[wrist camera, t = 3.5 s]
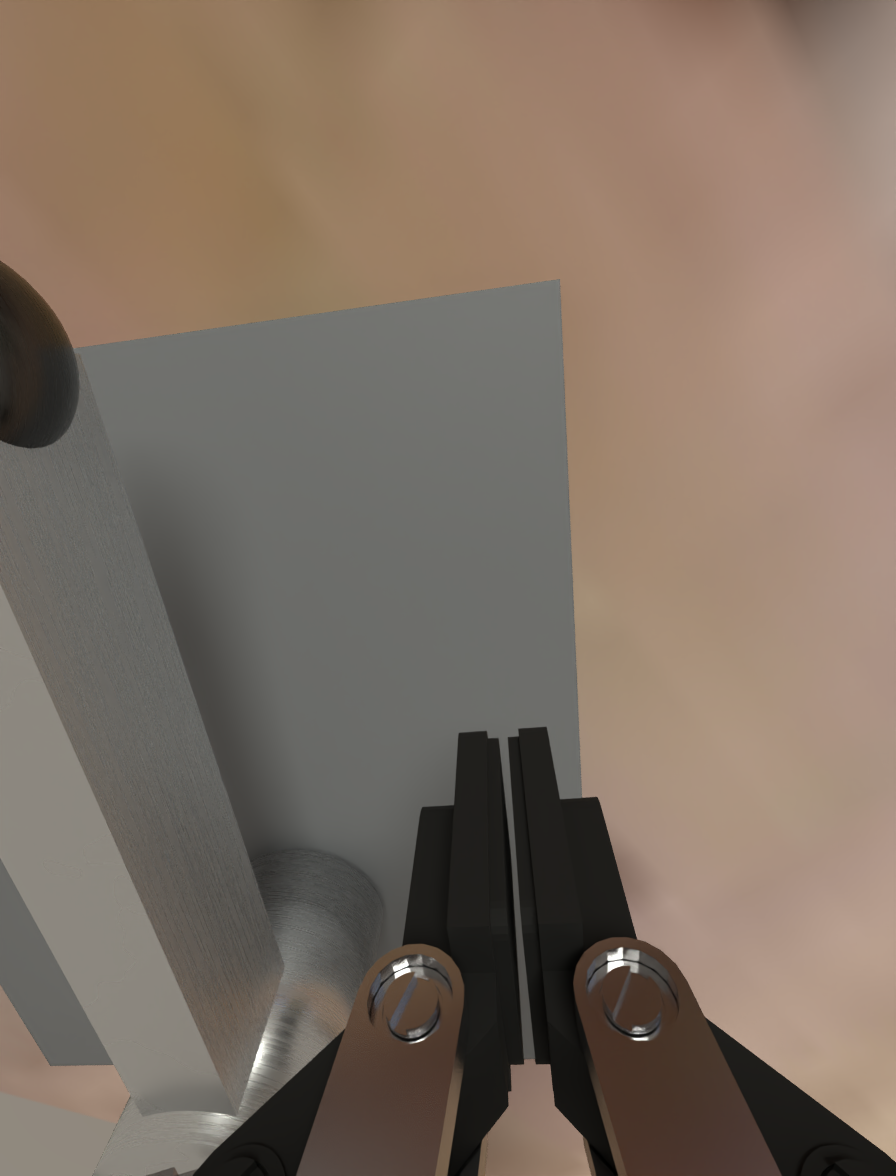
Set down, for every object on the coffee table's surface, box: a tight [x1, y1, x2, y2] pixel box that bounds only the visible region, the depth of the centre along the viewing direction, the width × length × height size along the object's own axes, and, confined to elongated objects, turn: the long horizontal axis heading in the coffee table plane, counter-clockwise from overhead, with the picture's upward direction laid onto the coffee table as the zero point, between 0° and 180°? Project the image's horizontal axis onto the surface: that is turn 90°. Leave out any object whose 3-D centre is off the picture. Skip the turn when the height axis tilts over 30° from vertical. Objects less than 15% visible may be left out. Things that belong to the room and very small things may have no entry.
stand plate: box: [0, 279, 582, 1066], centre depth 18 cm, size 26×22×2 cm
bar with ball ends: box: [0, 261, 383, 1176], centre depth 13 cm, size 25×5×8 cm, turn 7°
